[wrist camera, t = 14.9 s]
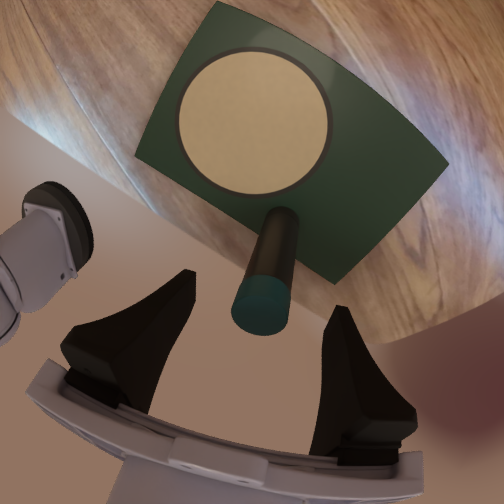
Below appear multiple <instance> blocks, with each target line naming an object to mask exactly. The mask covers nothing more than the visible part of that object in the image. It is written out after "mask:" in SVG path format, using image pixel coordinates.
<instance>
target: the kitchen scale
mask: <svg viewBox="0 0 504 504" xmlns="http://www.w3.org/2000/svg"><path fill="white" fill-rule="evenodd" d="M135 157H136V158H138V159H140V160H141V161H143V162H145V163H146V164H148V165H149V166H151V167H153V168H154V169H156V170H158V171H159V172H161V173H162V174H164V175H166V176H167V177H169V178H170V179H172V180H174V181H175V182H177V183H178V184H180V185H182V186H183V187H185V188H186V189H188V190H189V191H191V192H193V193H194V194H196V195H197V196H199V197H201V198H202V199H204V200H205V201H207V202H208V203H210V204H212V205H213V206H215V207H216V208H218V209H219V210H221V211H223V212H224V213H226V214H227V215H229V216H230V217H232V218H233V219H235V220H237V221H238V222H240V223H241V224H243V225H244V226H246V227H247V228H249V229H251V230H252V231H254V232H255V233H257V234H258V235H259V234H260V231H261V228H262V226H263V223H264V220H265V217H266V215H267V213H268V212H269V211H270V210H271V209H273V208H275V207H279V206H284V207H288V208H290V209H292V210H293V211H294V212H295V213H296V214H297V216H298V218H299V231H298V239H297V248H296V256H295V259H296V260H298V261H299V262H301V263H302V264H304V265H305V266H307V267H308V268H310V269H311V270H313V271H314V272H316V273H317V274H319V275H320V276H322V277H323V278H325V279H326V280H328V281H329V282H331V283H332V284H334V285H335V284H336V283H337V282H339V281H340V280H341V279H342V278H343V277H344V276H345V275H346V274H347V273H348V272H349V271H350V270H351V269H352V268H353V267H354V266H355V265H356V264H358V263H359V262H360V261H361V260H362V259H363V258H364V257H365V256H366V255H367V254H368V253H369V252H370V251H371V250H372V249H373V248H374V247H375V246H376V245H377V244H378V243H379V242H380V241H381V240H382V239H383V238H384V237H385V236H386V235H387V234H388V232H389V231H390V230H391V229H392V228H393V227H394V226H395V225H396V224H397V223H398V222H399V221H400V220H401V219H402V218H403V217H404V216H405V214H406V213H407V212H408V211H409V210H410V209H411V208H412V207H413V206H414V205H415V204H416V202H417V201H418V200H419V199H420V198H421V197H422V196H423V195H424V193H425V192H426V191H427V190H428V189H429V188H430V187H431V185H432V184H433V183H434V182H435V181H436V180H437V178H438V177H439V176H440V175H441V174H442V172H443V171H444V170H445V169H446V168H447V166H448V165H449V163H448V162H447V160H446V159H445V158H444V157H443V156H442V155H441V154H440V152H439V151H438V150H437V149H436V148H435V147H434V146H433V145H432V144H431V143H430V142H429V140H428V139H427V138H426V137H425V136H424V135H423V134H422V133H421V132H420V131H419V130H418V129H417V128H416V127H415V126H414V125H413V124H412V123H411V122H410V121H409V120H408V119H406V118H405V117H404V116H403V115H402V114H401V113H400V112H399V111H398V110H397V109H396V108H394V107H393V106H392V105H391V104H390V103H389V102H388V101H386V100H385V99H384V98H383V97H382V96H381V95H379V94H378V93H377V92H376V91H375V90H373V89H372V88H371V87H370V86H368V85H367V84H366V83H364V82H363V81H362V80H361V79H359V78H358V77H357V76H355V75H354V74H353V73H351V72H350V71H348V70H347V69H346V68H344V67H343V66H341V65H340V64H338V63H337V62H336V61H334V60H333V59H331V58H330V57H328V56H327V55H325V54H323V53H322V52H320V51H319V50H317V49H316V48H314V47H312V46H311V45H309V44H307V43H306V42H304V41H302V40H300V39H299V38H297V37H295V36H293V35H292V34H290V33H288V32H286V31H284V30H282V29H280V28H279V27H277V26H275V25H273V24H271V23H269V22H267V21H265V20H262V19H260V18H258V17H256V16H254V15H252V14H249V13H247V12H245V11H242V10H240V9H238V8H235V7H233V6H230V5H228V4H225V3H222V2H220V1H216V3H215V4H214V6H213V7H212V8H211V10H210V11H209V13H208V14H207V16H206V17H205V19H204V20H203V22H202V23H201V25H200V26H199V28H198V29H197V31H196V33H195V34H194V36H193V37H192V39H191V41H190V42H189V44H188V46H187V47H186V49H185V51H184V52H183V54H182V56H181V58H180V59H179V61H178V63H177V65H176V67H175V68H174V70H173V72H172V74H171V76H170V78H169V80H168V82H167V84H166V86H165V88H164V90H163V92H162V94H161V96H160V98H159V100H158V102H157V104H156V106H155V108H154V110H153V113H152V115H151V117H150V119H149V122H148V124H147V126H146V128H145V131H144V133H143V136H142V138H141V140H140V143H139V145H138V148H137V150H136V153H135Z"/></svg>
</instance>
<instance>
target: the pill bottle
mask: <svg viewBox="0 0 504 504" xmlns="http://www.w3.org/2000/svg"><path fill="white" fill-rule="evenodd" d="M298 231H299V218H298V216H297V214H296V213H295V212H294V211H293V210H292V209H290V208H288V207H284V206H279V207H275V208H273V209H271V210H270V211H269V212H268V213H267V215H266V217H265V220H264V223H263V226H262V228H261V231H260V234H259V237H258V239H257V242H256V245H255V248H254V250H253V253H252V256H251V259H250V261H249V264H248V267H247V270H246V273H245V275H244V278H243V281H242V283H241V285H240V287H239V289H238V292H237V295H236V297H235V300H234V303H233V305H232V308H231V314H232V318H233V320H234V322H235V323H236V324H237V325H238V326H239V327H240V328H241V329H243V330H244V331H246V332H248V333H251V334H254V335H260V336H269V335H273V334H276V333H278V332H280V331H281V330H283V329H284V328H285V326H286V324H287V322H288V315H289V308H290V301H291V287H292V279H293V272H294V264H295V256H296V248H297V239H298Z"/></svg>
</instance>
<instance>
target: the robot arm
mask: <svg viewBox="0 0 504 504" xmlns="http://www.w3.org/2000/svg"><path fill="white" fill-rule="evenodd" d="M24 209H25V214H26V217H24V218H23V219H21V220H20V221H19V222H17V223H16V224H15V225H13V226H12V227H11V228H9V229H8V230H7V231H5V232H4V233H3V234H1V235H0V347H1V346H3V345H4V344H6V343H7V342H8V341H9V340H10V339H11V338H12V337H13V336H14V334H15V333H16V331H17V329H18V327H19V323H20V318H21V314H20V311H21V312H24V313H32V312H35V311H37V310H39V309H41V308H42V307H44V306H45V305H46V304H47V303H48V302H49V301H50V299H51V298H52V297H53V296H54V295H55V294H56V293H57V292H58V291H59V289H61V287H62V286H63V285H64V284H65V283H66V282H67V281H68V280H69V279H70V278H71V277H72V278H74V279H76V278H77V277H78V275H77V271H76V268H75V264H74V260H73V256H72V253H71V249H70V244H69V240H68V236H67V231H66V226H65V222H64V216H63V212H62V211H61V210H59V209H55V208H51V207H46V206H42V205H38V204H34V203H30V202H25V203H24ZM195 301H196V272H194V271H191V270H187V269H184V270H183V271H181V272H180V273H179V274H177V275H176V276H175V277H174V278H172V279H171V280H170V281H168V282H167V283H166V284H164V285H163V286H162V287H160V288H159V289H158V290H156V291H155V292H153V293H152V294H150V295H149V296H147V297H146V298H144V299H143V300H141V301H139V302H138V303H136V304H134V305H132V306H130V307H128V308H126V309H124V310H122V311H120V312H118V313H116V314H113V315H111V316H108V317H105V318H103V319H100V320H96V321H93V322H90V323H86V324H82V325H77V326H74V327H73V328H72V330H71V331H70V332H69V333H68V335H67V336H66V338H65V339H64V340H63V341H62V343H61V344H60V347H61V351H62V353H63V355H64V356H65V358H66V360H67V361H68V363H69V365H70V366H71V368H70V369H69V371H67V370H66V369H65V368H64V367H62V366H61V365H59V364H57V363H56V362H54V361H53V360H51V359H47V360H46V362H45V363H44V365H43V366H42V367H41V369H40V370H39V372H38V373H37V375H36V376H35V378H34V379H33V381H32V382H31V384H30V385H29V387H28V388H27V390H26V391H25V393H26V395H27V396H28V397H29V398H30V399H31V400H32V401H33V402H34V403H35V404H36V405H37V406H38V407H39V408H40V409H41V410H42V411H43V412H45V413H46V414H47V415H48V416H50V417H51V418H52V419H54V420H55V421H57V422H58V423H60V424H61V425H63V426H64V427H66V428H67V429H69V430H70V431H72V432H73V433H75V434H76V435H78V436H79V437H81V438H83V439H84V440H86V441H88V442H89V443H91V444H93V445H94V446H96V447H98V448H99V449H101V450H103V451H105V452H107V453H108V454H110V455H112V456H114V457H116V458H118V459H120V460H122V461H124V463H123V465H122V468H121V470H120V472H119V474H118V477H117V479H116V482H115V484H114V486H113V489H112V491H111V493H110V496H109V498H108V501H107V503H106V504H388V503H395V502H398V501H402V500H406V499H409V498H412V497H415V496H418V495H421V494H423V493H424V475H423V452H422V451H413V452H403V453H400V454H399V453H398V448H401V446H402V445H401V441H402V440H403V439H405V438H406V437H408V436H409V435H411V434H412V433H413V432H415V431H416V429H417V427H418V422H417V413H416V409H415V408H414V407H413V406H412V405H410V404H409V403H408V402H407V401H406V400H405V399H404V398H403V397H402V396H401V395H400V394H399V393H398V392H397V391H396V389H394V387H393V386H392V385H391V384H390V382H389V381H388V380H387V378H386V377H385V376H384V375H383V373H382V372H381V370H380V369H379V368H378V366H377V364H376V363H375V361H374V360H373V358H372V357H371V355H370V353H369V351H368V349H367V348H366V345H365V343H364V341H363V339H362V337H361V335H360V333H359V331H358V329H357V327H356V324H355V322H354V320H353V318H352V315H351V313H350V311H349V309H348V307H345V306H340V305H336V307H335V309H334V311H333V313H332V315H331V317H330V319H329V322H328V324H327V326H326V328H325V330H324V333H323V342H322V384H321V397H320V404H319V410H318V416H317V421H316V426H315V431H314V435H313V440H312V444H311V448H310V451H309V455H303V454H295V453H288V452H281V451H275V450H269V449H264V448H258V447H253V446H248V445H244V444H239V443H235V442H231V441H227V440H223V439H219V438H215V437H211V436H208V435H205V434H201V433H198V432H195V431H191V430H188V429H185V428H182V427H179V426H176V425H174V424H171V423H168V422H165V421H162V420H160V419H157V418H155V417H152V416H150V415H148V411H149V408H150V405H151V402H152V398H153V395H154V392H155V389H156V387H157V384H158V381H159V378H160V375H161V373H162V370H163V368H164V365H165V363H166V360H167V358H168V355H169V353H170V351H171V349H172V347H173V345H174V344H175V341H176V340H177V338H178V336H179V335H180V333H181V331H182V329H183V327H184V326H185V324H186V322H187V320H188V318H189V316H190V314H191V311H192V309H193V306H194V304H195Z"/></svg>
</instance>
